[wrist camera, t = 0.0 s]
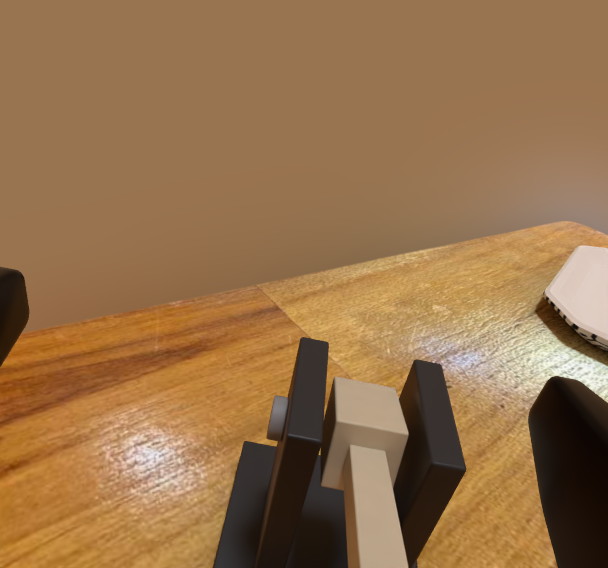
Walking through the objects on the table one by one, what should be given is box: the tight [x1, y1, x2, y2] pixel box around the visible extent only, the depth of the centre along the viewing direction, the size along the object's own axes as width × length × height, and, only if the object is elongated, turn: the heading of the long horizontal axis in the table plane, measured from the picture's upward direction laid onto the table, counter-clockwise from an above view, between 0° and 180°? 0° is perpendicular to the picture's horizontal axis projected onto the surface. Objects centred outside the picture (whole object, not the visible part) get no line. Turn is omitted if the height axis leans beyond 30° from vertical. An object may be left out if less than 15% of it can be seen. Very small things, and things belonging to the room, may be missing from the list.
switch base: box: [213, 337, 466, 568], centre depth 17 cm, size 9×8×10 cm
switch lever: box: [320, 377, 409, 568], centre depth 11 cm, size 12×3×3 cm, turn 175°
